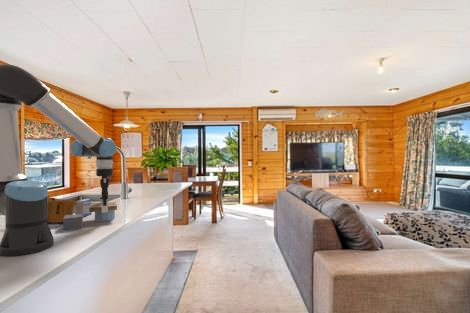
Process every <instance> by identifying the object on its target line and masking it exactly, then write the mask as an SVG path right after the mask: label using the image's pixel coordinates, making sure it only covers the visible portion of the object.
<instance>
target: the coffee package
mask: <svg viewBox="0 0 470 313" xmlns="http://www.w3.org/2000/svg"><path fill="white" fill-rule="evenodd" d="M77 201H78V200H68V199H63V198H56V197H50V196H48V223H63V218H64V217H65V215H74V213H73V212H74V210H75V209H74V208H75V204H76V202H77Z"/></svg>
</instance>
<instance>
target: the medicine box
mask: <svg viewBox="0 0 470 313" xmlns="http://www.w3.org/2000/svg"><path fill="white" fill-rule="evenodd" d="M76 201H77V202H76V204H75V206H74V208H75V209H74V210H75V211H74V212H75V213H74V215H75V214H83V218H86V217H88V216H90V215H92V213H93V212H89V208H90V204H93V203H92V198H83V199H80V200H76Z"/></svg>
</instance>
